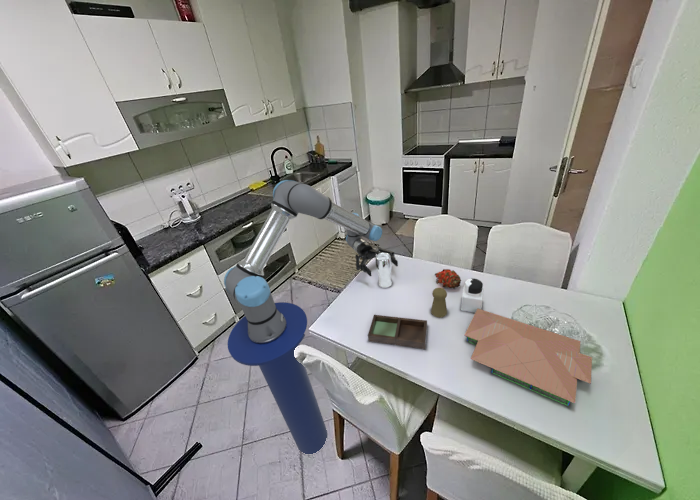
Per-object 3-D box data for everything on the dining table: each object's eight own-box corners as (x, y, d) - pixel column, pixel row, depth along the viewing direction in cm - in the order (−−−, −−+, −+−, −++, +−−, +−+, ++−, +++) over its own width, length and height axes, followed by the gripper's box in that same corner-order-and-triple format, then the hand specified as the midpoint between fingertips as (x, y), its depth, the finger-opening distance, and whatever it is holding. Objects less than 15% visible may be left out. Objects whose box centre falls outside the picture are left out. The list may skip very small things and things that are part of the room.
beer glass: (385, 277, 132) (382, 250, 124) (396, 283, 127) (394, 255, 119) (374, 284, 128) (371, 257, 121) (385, 290, 123) (383, 262, 116)
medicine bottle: (481, 301, 110) (485, 277, 103) (480, 314, 104) (484, 289, 98) (462, 298, 113) (464, 275, 106) (460, 310, 107) (462, 286, 101)
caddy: (368, 341, 101) (367, 335, 99) (374, 320, 109) (374, 314, 107) (425, 349, 94) (425, 343, 93) (427, 326, 103) (427, 320, 101)
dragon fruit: (460, 295, 117) (436, 287, 126) (468, 277, 118) (443, 271, 127) (453, 287, 111) (427, 280, 120) (461, 269, 113) (435, 263, 122)
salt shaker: (448, 308, 109) (450, 287, 103) (444, 319, 104) (446, 297, 99) (433, 305, 112) (433, 283, 106) (428, 314, 107) (429, 293, 102)
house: (585, 416, 71) (595, 397, 66) (455, 359, 90) (456, 342, 85) (588, 352, 85) (597, 333, 81) (476, 314, 104) (478, 298, 100)
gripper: (385, 247, 146) (407, 266, 129) (342, 262, 139) (360, 284, 122) (384, 235, 142) (407, 252, 125) (339, 250, 135) (357, 271, 118)
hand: (384, 268), depth 123 cm, fingers open, 13 cm apart
